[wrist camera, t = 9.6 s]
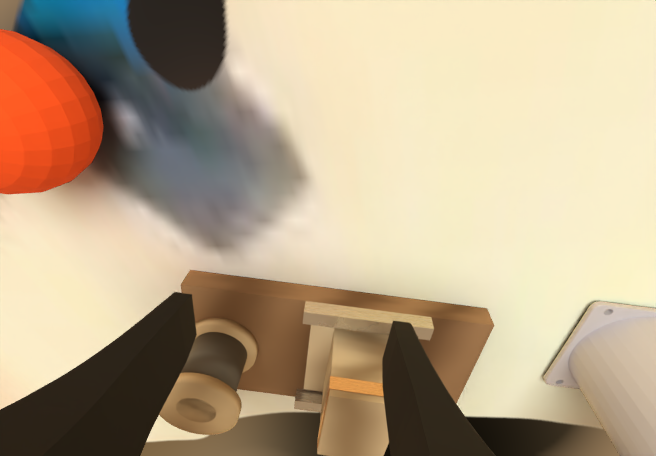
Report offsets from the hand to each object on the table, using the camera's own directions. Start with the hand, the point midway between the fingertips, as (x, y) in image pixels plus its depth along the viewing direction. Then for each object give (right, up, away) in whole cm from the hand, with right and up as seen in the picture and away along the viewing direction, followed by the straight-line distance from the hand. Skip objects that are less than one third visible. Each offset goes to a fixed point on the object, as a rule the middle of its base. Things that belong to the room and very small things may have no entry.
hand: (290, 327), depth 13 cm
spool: (-6, -5, +13) cm, 15 cm away
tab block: (+3, -6, +12) cm, 14 cm away
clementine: (-13, +10, +6) cm, 17 cm away
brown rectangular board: (+1, -5, +14) cm, 15 cm away
